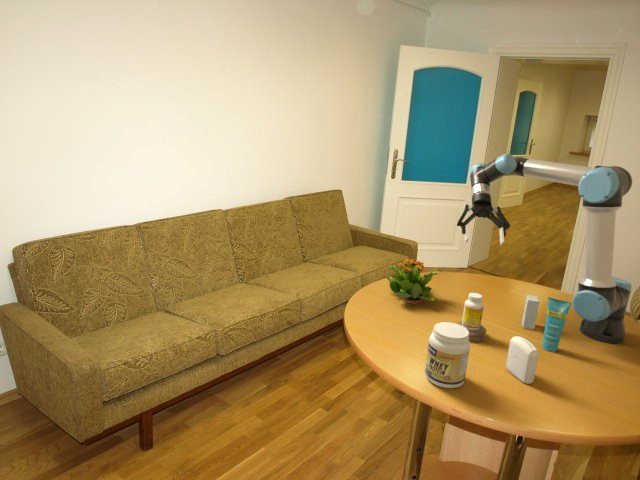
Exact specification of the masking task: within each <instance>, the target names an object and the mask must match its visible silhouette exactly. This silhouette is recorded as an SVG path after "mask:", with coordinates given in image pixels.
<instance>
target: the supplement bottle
mask: <svg viewBox="0 0 640 480" xmlns="http://www.w3.org/2000/svg"><path fill="white" fill-rule="evenodd" d="M482 300H483V295H482V294H480V293H477V292H470V293H468V299H466V300H465V301H464V306H463V311H462V312H463V313H462V320H461V321H462V326H463V327H465V328H466V329H468V330H479V329H480V326H481V325H482V319H483V313H484V303H483V302H482Z"/></svg>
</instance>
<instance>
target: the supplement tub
mask: <svg viewBox="0 0 640 480" xmlns="http://www.w3.org/2000/svg"><path fill="white" fill-rule="evenodd" d="M468 339H469V331H468V330H467V329H466V328H465V327H463V326H461V325H459V324H456V323H455V322H451V321H450V322H448V321H443V322H442V321H441V322H438V323H435V325H434V326H433V329H432V332H431V334H430V335H429V337H428V346H427V350H426V351H427V352H426V361H425V368H424V374H425V376H426V379H427V380H428V381H429V382H430V383H432V384H433V385H435V386H438V387H441V388H445V389H457V388H459V387H461V386H462V385H463V384H464V382H465V380H466V376H467V375H466V374H467V369H468V363H469V356H470V350H471V342H469V340H468Z"/></svg>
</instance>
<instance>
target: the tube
mask: <svg viewBox="0 0 640 480" xmlns="http://www.w3.org/2000/svg"><path fill="white" fill-rule="evenodd" d="M572 302H573V301H568V300H562V299H558V298H553V297H549V296H547V308H546V316H545V317H546V318H545V324H544V331H543V338H542V343H541V344H542V345H541V346H542V349H544V350H545V351H547V352H553V353H555V352H557V350H558V348H559V343H560V340H561V336H562V334H563V330H564V327H565V323H566V320H567V318H568V314H569V311H570V308H571V306H572V304H573V303H572Z"/></svg>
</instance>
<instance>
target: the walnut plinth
mask: <svg viewBox="0 0 640 480" xmlns="http://www.w3.org/2000/svg"><path fill="white" fill-rule="evenodd" d="M455 324H459V325H461V326H462V320H461V321H458V322H456V323H455ZM467 330H468V329H467ZM468 331H469V339H468V340H469V342H470V343H481V342H483V341H485V339H486V333H487V329H486V327H485V326H484V325H482V324H481V326H480V329H479V330H468Z"/></svg>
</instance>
